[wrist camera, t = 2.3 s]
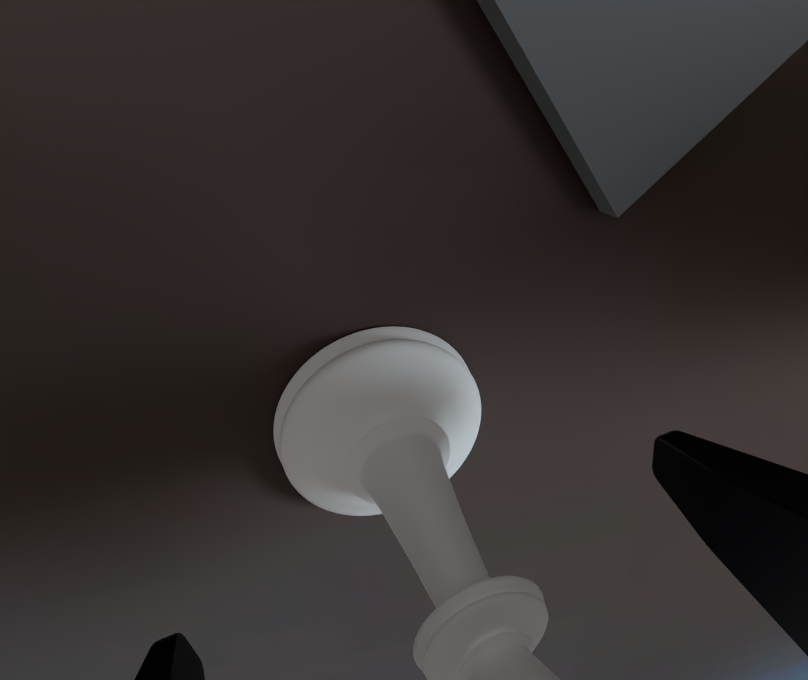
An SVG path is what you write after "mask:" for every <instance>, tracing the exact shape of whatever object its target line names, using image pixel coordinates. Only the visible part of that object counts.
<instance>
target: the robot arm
mask: <svg viewBox="0 0 808 680" xmlns="http://www.w3.org/2000/svg"><path fill="white" fill-rule="evenodd" d="M652 469H653V473H654V475H655V477H656V479H657V480H658V482H659V483H660V484H661V486H662V487H663V488H664V490H665V491H666V492H667V494H668V495H669V496H670V498H671V499H672V500H673V502H674V503H675V504H676V506H677V507H678V508H679V510H680V511H681V512H682V514H683V515H684V516H685V518H686V519H687V520H688V522H689V523H690V524H691V525H692V527H693V528H694V529H695V531H696V532H697V533H698V535H699V536H700V537H701V539H702V540H703V541H704V542H705V543H706V545H707V546H708V547H709V548H710V549H711V551H712V552H713V553H714V554H715V555H716V556H717V557H718V558H719V560H720V561H721V562H722V563H723V564H724V565H725V566H726V567H727V568H728V569H729V571H730V572H731V573H732V574H733V575H734V576H735V577H736V578H737V579H738V580H739V581H740V583H741V584H742V585H743V586H744V587H745V588H746V589H747V590H748V591H749V592H750V593H751V595H752V596H753V597H754V598H755V599H756V600H757V601H758V602H759V603H760V604H761V605H762V607H763V608H764V609H765V610H766V611H767V612H768V613H769V614H770V615H771V616H772V617H773V619H774V620H775V621H776V622H777V623H778V624H779V625H780V626H781V627H782V628H783V630H784V631H785V632H786V633H787V634H788V635H789V636H790V637H791V638H792V639H793V640H794V642H795V643H796V644H797V645H798V646H799V647H800V648H801V649H802V650H803V651H804V652H805V654H806V655H807V656H808V474H805V473H802V472H799V471H796V470H793V469H790V468H787V467H785V466H782V465H779V464H776V463H773V462H770V461H767V460H764V459H761V458H758V457H755V456H752V455H749V454H746V453H743V452H740V451H737V450H734V449H731V448H728V447H726V446H723V445H720V444H717V443H714V442H711V441H708V440H705V439H702V438H699V437H696V436H693V435H690V434H687V433H684V432H681V431H676V430H675V431H670V432H668V433H665V434H663V435H660V436H658V437H657V438H656V439H655V442H654V451H653V462H652ZM135 680H205V677H204V670H203V666H202V662H201V660H200V658H199V656H198V655H197V654H196V652H195V651H194V649H193V648H192V646H191V645H190V644H189V642H188V641H187V639H186V638H185V637H184V635H183V634H181V633H175V634H173V635H170V636H168V637H165V638H163V639H160V640H158V641H156V642H155V643H154V644H153V645H152V646H151V648H150V650H149V651H148V654H147V656H146V658H145V660H144V662H143V664H142V666H141V668H140V670H139V672H138V674H137V676H136V678H135Z"/></svg>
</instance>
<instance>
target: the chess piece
mask: <svg viewBox="0 0 808 680" xmlns="http://www.w3.org/2000/svg"><path fill="white" fill-rule="evenodd" d="M480 421H481V400H480V395H479V391H478V388H477V385H476V383H475V380H474V378H473V377H472V375H471V373H470V372H469V369H468V367H467V365H466V363H465V362H464V360H463V359H462V357H461V356H460V355H459V353H458V352H457V351H456V350H455V349H454V348H453V347H452V346H450V345H449V344H448V343H447V342H445V341H444V340H442V339H441V338H439V337H437V336H435V335H433V334H431V333H428V332H425V331H422V330H419V329H414V328H409V327H397V326H389V327H378V328H372V329H367V330H363V331H359V332H356V333H353V334H350V335H348V336H345V337H343V338H341V339H339V340H337V341H335V342H333V343H331V344H329V345H328V346H326V347H325V348H323V349H322V350H320V351H319V352H317V353H316V354H315V355H314V356H312V357H311V358H310V359H309V360H308V361H307V362H306V363H305V364H304V365H303V366H302V367H301V368H300V369H299V370H298V371H297V372H296V374H295V375H294V376H293V377H292V379H291V380H290V382H289V383H288V385H287V386H286V388H285V390H284V392H283V394H282V396H281V398H280V400H279V403H278V406H277V409H276V413H275V418H274V427H273V435H274V443H275V448H276V452H277V455H278V457H279V460H280V462H281V464H282V465H283V468H284V471H285V473H286V475H287V477H288V479H289V481H290V482H291V484H292V485H293V487H294V488H295V489H296V490H297V491H298V492H299V493H300V494H301V495H302V496H303V497H304V498H305V499H307V500H308V501H310V502H311V503H313V504H314V505H316V506H318V507H320V508H323V509H325V510H328V511H331V512H334V513H338V514H344V515H352V516H368V515H377V514H383V516H384V517H385V519H386V521H387V522H388V524H389V526H390V527H391V529H392V531H393V532H394V534H395V536H396V537H397V539H398V541H399V542H400V544H401V546H402V548H403V549H404V551H405V553H406V555H407V556H408V558H409V560H410V562H411V563H412V565H413V567H414V568H415V570H416V572H417V574H418V576H419V578H420V580H421V581H422V583H423V585H424V587H425V589H426V591H427V593H428V594H429V596H430V598H431V600H432V601H433V603H434V605H435V607H436V609H434V611H433V612H432V613H431V614H430V615H429V616H428V617H427V619H426V620H425V621H424V623H423V624H422V626H421V627H420V629H419V631H418V633H417V635H416V638H415V641H414V646H413V656H414V660H415V662H416V664H417V666H418V667H419V669H420V670H421V671H423V672H424V675H425V677H426V678H427V679H428V680H560V679H559V678H558V677H557V676H556V675H555V674H554V673H553V672H551V671H550V670H549V669H548V668H547V667H546V666H545V665H544V664H543V663H542V662H541V661H539V660H538V659H537V658H536V657H535V656H534V655H533V654H532V652H533V650H534V649H535V647H536V646H537V645H538V643H539V642H540V640H541V639H542V637H543V635H544V633H545V630H546V627H547V623H548V611H547V608H546V606H545V604H544V597H543V594H542V592H541V590H540V588H539V587H538V586H537V585H536V584H535V583H534V582H532V581H530V580H528V579H526V578H522V577H517V576H499V577H493V578H489V575H488V573H487V570H486V568H485V566H484V563H483V561H482V559H481V556H480V554H479V552H478V550H477V548H476V545H475V543H474V541H473V539H472V536H471V534H470V531H469V529H468V526H467V524H466V521H465V519H464V516H463V514H462V511H461V508H460V506H459V503H458V501H457V498H456V495H455V493H454V490H453V488H452V485H451V483H450V480H449V478H450V477H451V476H452V475H453V474H454V473H455V472H456V471H457V470H458V469H459V467H460V466H461V465H462V463H463V462H464V461H465V459H466V458H467V456H468V454H469V453H470V451H471V449H472V447H473V445H474V442H475V440H476V437H477V434H478V431H479V426H480Z"/></svg>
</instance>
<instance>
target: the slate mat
mask: <svg viewBox="0 0 808 680" xmlns="http://www.w3.org/2000/svg"><path fill="white" fill-rule="evenodd" d="M477 2H478V4H479V5H480V7H481V9H482V10H483V12H484V14H485V16H486V17H487V19H488V21H489V22H490V24H491V26H492V27H493V29H494V31H495V33H496V34H497V36H498V38H499V39H500V41H501V43H502V45H503V46H504V48H505V50H506V51H507V53H508V55H509V57H510V58H511V60H512V62H513V63H514V65H515V67H516V69H517V70H518V72H519V74H520V75H521V77H522V79H523V80H524V82H525V84H526V86H527V87H528V89H529V91H530V92H531V94H532V96H533V98H534V99H535V101H536V103H537V104H538V106H539V108H540V110H541V111H542V113H543V115H544V116H545V118H546V120H547V122H548V123H549V125H550V127H551V128H552V130H553V132H554V133H555V135H556V137H557V139H558V140H559V142H560V144H561V145H562V147H563V149H564V151H565V152H566V154H567V156H568V157H569V159H570V161H571V163H572V164H573V166H574V168H575V169H576V171H577V173H578V175H579V176H580V178H581V180H582V181H583V183H584V185H585V186H586V188H587V190H588V192H589V193H590V195H591V197H592V198H593V200H594V202H595V204H596V205H597V207H598V209H599V210H600V212H603V213H605V214H608V215H611V216H614V217H616V218H618V217H619V216H620V215H621V214H623V213H624V212H625V211H626V210H627V209H628V208H629V207H630V206H631V205H632V204H633V203H634V202H635V201H636V200H637V199H639V198H640V197H641V196H642V195H643V194H644V193H645V192H646V191H647V190H648V189H649V188H650V187H651V186H652V185H654V184H655V183H656V182H657V181H658V180H659V179H660V178H661V177H662V176H663V175H664V174H665V173H666V172H667V171H668V170H670V169H671V168H672V167H673V166H674V165H675V164H676V163H677V162H678V161H679V160H680V159H681V158H682V157H683V156H685V155H686V154H687V153H688V152H689V151H690V150H691V149H692V148H693V147H694V146H695V145H696V144H697V143H698V142H699V141H701V140H702V139H703V138H704V137H705V136H706V135H707V134H708V133H709V132H710V131H711V130H712V129H713V128H714V127H716V126H717V125H718V124H719V123H720V122H721V121H722V120H723V119H724V118H725V117H726V116H727V115H728V114H729V113H730V112H732V111H733V110H734V109H735V108H736V107H737V106H738V105H739V104H740V103H741V102H742V101H743V100H744V99H745V98H747V97H748V96H749V95H750V94H751V93H752V92H753V91H754V90H755V89H756V88H757V87H758V86H759V85H760V84H761V83H763V82H764V81H765V80H766V79H767V78H768V77H769V76H770V75H771V74H772V73H773V72H774V71H775V70H776V69H777V68H779V67H780V66H781V65H782V64H783V63H784V62H785V61H786V60H787V59H788V58H789V57H790V56H791V55H792V54H794V53H795V52H796V51H797V50H798V49H799V48H800V47H801V46H802V45H803V44H804V43H805V42H806V41H807V40H808V0H477Z"/></svg>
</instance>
